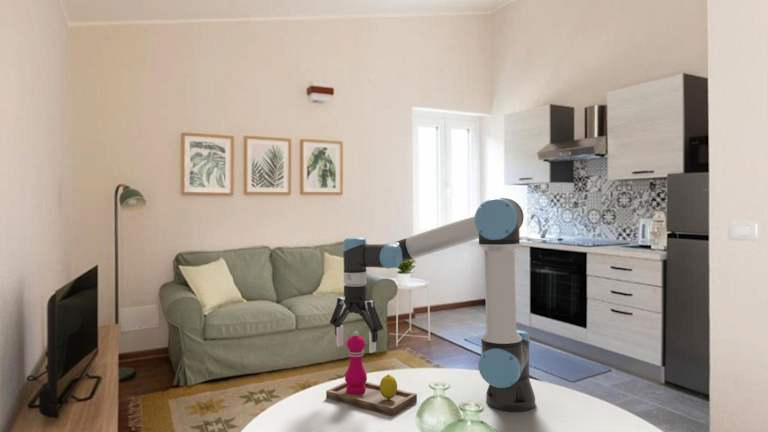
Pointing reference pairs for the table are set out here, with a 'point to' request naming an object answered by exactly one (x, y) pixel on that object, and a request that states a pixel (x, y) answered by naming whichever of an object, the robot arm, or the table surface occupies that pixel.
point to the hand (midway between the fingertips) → (356, 348)
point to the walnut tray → (373, 399)
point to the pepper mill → (355, 365)
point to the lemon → (388, 387)
